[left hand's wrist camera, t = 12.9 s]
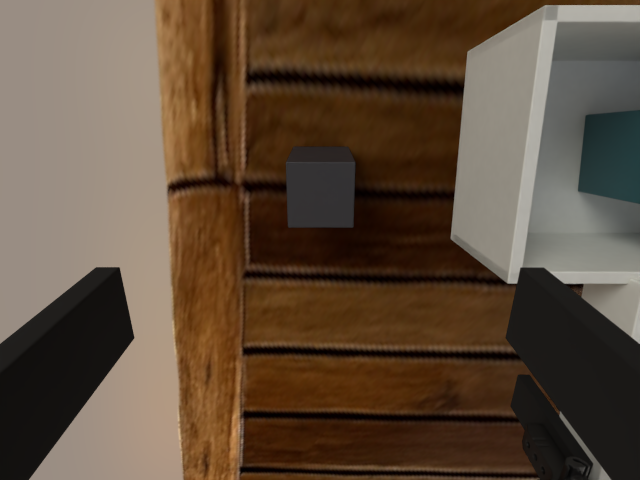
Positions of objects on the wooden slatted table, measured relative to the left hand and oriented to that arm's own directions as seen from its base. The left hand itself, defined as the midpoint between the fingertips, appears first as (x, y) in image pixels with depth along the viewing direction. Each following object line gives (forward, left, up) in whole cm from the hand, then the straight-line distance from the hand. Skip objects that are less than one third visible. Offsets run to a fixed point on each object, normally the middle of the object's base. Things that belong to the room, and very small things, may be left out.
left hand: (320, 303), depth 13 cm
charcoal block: (0, 0, -21) cm, 21 cm away
